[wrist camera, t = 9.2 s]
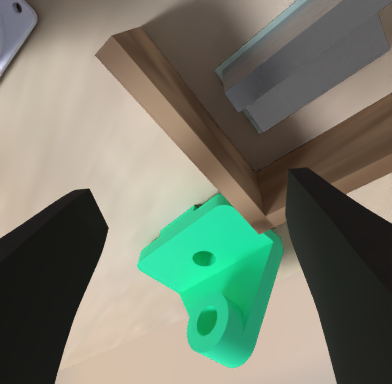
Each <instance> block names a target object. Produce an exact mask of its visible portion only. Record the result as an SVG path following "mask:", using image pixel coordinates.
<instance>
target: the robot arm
mask: <svg viewBox="0 0 392 384" xmlns="http://www.w3.org/2000/svg"><path fill="white" fill-rule="evenodd" d="M17 3H19V4H20V6H21V8H22V12H19V10H18V9H17V6H16V5H17ZM37 21H38V20H37V15H36V13H35V11H34V10H33V9H32V8H31V7H30V5H29V4H28V3H27V2H26V1H25V0H0V76H1V75H2V73H3V72H4V70H5V69H6V67H7V66H8V65H9V63H10V62H11V60H12V59H13V57H14V56H15V54H16V53H17V51H18V50H19V49H20V47H21V46H22V44H23V43H24V41H25V40H26V38H27V37H28V35H29V34H30V32H31V31H32V30H33V28H34V27H35V25H36V24H37ZM285 217H286V221H287V225H288V230H289V234H290V238H291V241H292V244H293V247H294V249H295V252H296V255H297V257H298V260H299V262H300V265H301V268H302V270H303V273H304V276H305V278H306V281H307V283H308V286H309V288H310V291H311V294H312V296H313V299H314V302H315V305H316V308H317V311H318V314H319V318H320V321H321V325H322V329H323V332H324V336H325V339H326V343H327V347H328V351H329V355H330V359H331V362H332V366H333V370H334V374H335V378H336V381H337V384H392V223H390V222H388V221H386V220H385V219H383V218H382V217H380V216H378V215H377V214H375V213H373V212H372V211H370V210H368V209H367V208H365V207H364V206H362V205H361V204H359V203H357V202H356V201H354V200H353V199H351V198H350V197H348V196H347V195H346V194H344V193H343V192H341V191H340V190H338V189H337V188H336V187H334V186H333V185H331V184H330V183H329V182H327V181H326V180H324V179H323V178H322V177H320V176H319V175H318V174H316V173H315V172H313V171H312V170H311V169H309V168H308V167H303V168H293V169H288V176H287V192H286V208H285ZM108 229H109V228H108V226H107V224H106V221H105V219H104V217H103V215H102V213H101V211H100V209H99V207H98V205H97V203H96V201H95V199H94V197H93V195H92V193H91V191H90V189H80V190H74V191H72V192H70V193H68V194H66V195H65V196H63V197H61V198H60V199H58V200H57V201H55V202H54V203H52V204H51V205H49V206H48V207H46V208H45V209H44V210H42V211H41V212H39V213H38V214H36V215H35V216H33V217H32V218H30V219H29V220H27V221H26V222H25V223H23V224H22V225H20V226H19V227H17V228H16V229H14V230H13V231H11V232H9V233H8V234H6V235H5V236H3V237H2V238H0V384H55V380H56V376H57V372H58V369H59V366H60V362H61V359H62V355H63V352H64V348H65V345H66V342H67V339H68V336H69V332H70V329H71V326H72V323H73V320H74V317H75V315H76V312H77V310H78V307H79V305H80V302H81V300H82V298H83V295H84V293H85V291H86V289H87V286H88V284H89V282H90V279H91V277H92V275H93V273H94V270H95V268H96V266H97V263H98V261H99V258H100V256H101V254H102V251H103V248H104V244H105V241H106V237H107V233H108Z"/></svg>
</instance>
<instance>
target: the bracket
mask: <svg viewBox="0 0 392 384" xmlns="http://www.w3.org/2000/svg"><path fill="white" fill-rule="evenodd" d="M391 2H392V0H306V1H305V2H304V3H303V4H302V5H300V6H299V7H298V8H297V9H296V10H294V11H293V12H292V13H291V14H290V15H288V16H287V17H286V18H285V19H284V20H282V21H281V22H280V23H279V24H278V25H276V26H275V27H274V28H273V29H271V30H270V31H269V32H268V33H267V34H265V35H264V36H263V37H262V38H261V39H259V40H258V41H257V42H256V43H255V44H253V45H252V46H251V47H250V48H249V49H247V50H246V51H245V52H244V53H243V54H241V55H240V56H239V57H238V58H237V59H235V60H234V61H233V62H232V63H231V64H229V65H228V66H227V67H226V68H224V69H223V70H222V77H223V88H224V94H225V95H226V97H227V98H228V99H229V101H230V102H231V104H232V105H233V106H234V108H235V109H236V111H237V112H238V113H239V112H240V111H242V110H243V109H244V108H246V109H247V110H248V111H249V113H250V114H251V116H252V117H253V119H254V120H255V121H256V123H257V124H258V126H259V127H260V129H261V130H262V132H263V133H264V132H265V131H267V130H268V129H270V128H271V127H273V126H274V125H276V124H277V123H279V122H280V121H282V120H284V119H285V118H287V117H288V116H290V115H291V114H293V113H294V112H296V111H297V110H299V109H300V108H302V107H303V106H305V105H306V104H308V103H310V102H311V101H313V100H314V99H316V98H317V97H319V96H320V95H322V94H323V93H325V92H326V91H328V90H329V89H331V88H332V87H334V86H336V85H337V84H339V83H340V82H342V81H343V80H345V79H346V78H348V77H349V76H351V75H352V74H354V73H355V72H357V71H359V70H360V69H362V68H363V67H365V66H366V65H368V64H369V63H371V62H372V61H374V60H375V59H377V58H378V57H380V56H381V55H383V54H385V53H386V52H388V51H389V50H390V47H389V45H388V42H387V39H386V36H385V33H384V30H383V27H382V24H381V21H380V18H379V16H378V13H377V12H379V11H380V10H381V9H383V8H384V7H385V6H387V5H388V4H390V3H391Z"/></svg>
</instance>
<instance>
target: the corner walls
mask: <svg viewBox="0 0 392 384" xmlns="http://www.w3.org/2000/svg"><path fill="white" fill-rule="evenodd" d="M95 56H96V57H97V58H98V59H99V60H100V61H101V62H102V64H103V65H104V66H105V67H106V68H107V69H108V70H109V71H110V72H111V73H112V74H113V76H114V77H115V78H116V79H117V80H118V81H119V82H120V83H121V84H122V85H123V86H124V88H125V89H126V90H127V91H128V92H129V93H130V94H131V95H132V96H133V97H134V99H135V100H136V101H137V102H138V103H139V104H140V105H141V106H142V107H143V108H144V109H145V111H146V112H147V113H148V114H149V115H150V116H151V117H152V118H153V119H154V120H155V122H156V123H157V124H158V125H159V126H160V127H161V128H162V129H163V130H164V131H165V132H166V134H167V135H168V136H169V137H170V138H171V139H172V140H173V141H174V142H175V143H176V144H177V146H178V147H179V148H180V149H181V150H182V151H183V152H184V153H185V154H186V155H187V157H188V158H189V159H190V160H191V161H192V162H193V163H194V164H195V165H196V166H197V167H198V169H199V170H200V171H201V172H202V173H203V174H204V175H205V176H206V177H207V178H208V179H209V181H210V182H211V183H212V184H213V185H214V186H215V187H216V188H217V189H218V190H219V192H220V193H221V194H222V195H223V196H224V197H225V198H226V199H227V200H228V201H229V202H230V204H231V205H232V206H233V207H234V208H235V209H236V210H237V211H238V212H239V213H240V214H241V216H242V217H243V218H244V219H245V220H246V221H247V222H248V223H249V224H250V225H251V227H252V228H253V229H254V230H255V231H256V232H257V233H258V234H259V235H260V234H262V233H264V232H266V231H268V230H270V229H272V228H274V227H277V226H279V225H281V224H283V223H285V222H287V221H286V217H285V208H286V192H287V176H288V169H293V168H303V167H308V168H309V169H311V170H312V171H313V172H315V173H316V174H318V175H319V176H320V177H322V178H323V179H324V180H326V181H327V182H329V183H330V184H331V185H333V186H334V187H336V188H337V189H338V190H340V191H341V192H343V193H344V194H347V193H349V192H351V191H353V190H355V189H357V188H360V187H362V186H364V185H366V184H368V183H370V182H372V181H374V180H377V179H379V178H381V177H383V176H385V175H387V174H389V173H391V172H392V93H391V94H389V95H388V96H386V97H384V98H383V99H381V100H379V101H377V102H376V103H374V104H372V105H371V106H369V107H367V108H366V109H364V110H362V111H360V112H359V113H357V114H355V115H354V116H352V117H350V118H348V119H347V120H345V121H343V122H342V123H340V124H338V125H337V126H335V127H333V128H331V129H330V130H328V131H326V132H325V133H323V134H321V135H320V136H318V137H316V138H314V139H313V140H311V141H309V142H308V143H306V144H304V145H303V146H301V147H299V148H297V149H296V150H294V151H292V152H291V153H289V154H287V155H286V156H284V157H282V158H280V159H279V160H277V161H275V162H274V163H272V164H270V165H269V166H267V167H265V168H263V169H262V170H260V171H258V172H257V173H255V172H254V171H253V169H252V168H251V167H250V166H249V164H248V163H247V162H246V161H245V159H244V158H243V157H242V155H241V154H240V153H239V152H238V150H237V149H236V148H235V147H234V145H233V144H232V143H231V141H230V140H229V139H228V138H227V136H226V135H225V134H224V132H223V131H222V130H221V129H220V127H219V126H218V125H217V124H216V122H215V121H214V120H213V118H212V117H211V116H210V115H209V113H208V112H207V111H206V110H205V108H204V107H203V106H202V104H201V103H200V102H199V101H198V99H197V98H196V97H195V95H194V94H193V93H192V92H191V90H190V89H189V88H188V87H187V85H186V84H185V83H184V81H183V80H182V79H181V78H180V76H179V75H178V74H177V73H176V71H175V70H174V69H173V67H172V66H171V65H170V64H169V62H168V61H167V60H166V58H165V57H164V56H163V55H162V53H161V52H160V51H159V50H158V48H157V47H156V46H155V44H154V43H153V42H152V41H151V39H150V38H149V37H148V36H147V34H146V33H145V32H144V30H143V29H142V28H141V27H138V28H134V29H131V30H128V31H125V32H122V33H118V34H115V35H112V36H111V37H110V38H109V39H108V41H107V42H106V43H105V44H104V45H103V46H102V48H101V49H100V50H99V51H98V52H97V53H96V54H95Z"/></svg>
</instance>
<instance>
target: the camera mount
mask: <svg viewBox="0 0 392 384" xmlns="http://www.w3.org/2000/svg"><path fill="white" fill-rule="evenodd" d="M283 252H284V250H283V246H282V242H281V239H280V237H279V236H278V235H277V234H275V233H274V232H273V231H272V230H271V229H270V230H268V231H266V232H264V233H262V234H260V235H259V234H258V233H257V232H256V231H255V230H254V229H253V228H252V227H251V225H250V224H249V223H248V222H247V221H246V220H245V219H244V218H243V217H242V216H241V214H240V213H239V212H238V211H237V210H236V209H235V208H234V207H233V206H232V205H231V204H230V202H229V201H228V200H227V199H226V198H225V197H224V196H223V195H222V194H221V193H220V194H217V195H215V196H214V197H213V198H211V199H210V200H209V201H207V202H206V203H204V204H203V205H202V206H200V207H199V208H197V207H196V206H195V205H194V206H192V207H191V208H190V209H188V210H187V211H186V212H184V213H183V214H182V215H180V216H179V217H178V218H176V219H175V220H174V221H173V222H171V223H170V224H169V225H167V226H166V227H165V228H163V229H162V230H161V233H160V237H159V238H158V239H156V240H155V241H153V242H152V243H151V244H149V245H148V246H147V247H145V248H144V249H143V250H142V251H141V254H140V257H139V261H138V264H137V267H138V269H139V270H140V271H142V272H143V273H145V274H147V275H148V276H150V277H152V278H153V279H155V280H157V281H159V282H160V283H162V284H164V285H165V286H167V287H169V288H170V289H172V290H174V291H175V292H177V293H179V294H180V297H181V299H182V301H183V303H184V306H185V308H186V310H187V312H188V314H189V317H190V318H189V322H188V327H187V338H188V342H189V345H190V346H191V348H192V349H193V350H194V351H196V352H198V353H200V354H202V355H204V356H206V357H208V358H210V359H212V360H214V361H216V362H218V363H220V364H222V365H224V366H226V367H229V368H236V367H239V366H241V365H242V364H244V363H245V362H246V361H247V360H248V358H249V357H250V356H251V354H252V352H253V350H254V347H255V345H256V341H257V338H258V335H259V331H260V328H261V324H262V321H263V318H264V314H265V311H266V308H267V305H268V301H269V298H270V295H271V291H272V288H273V285H274V281H275V278H276V275H277V271H278V268H279V265H280V261H281V258H282V255H283Z"/></svg>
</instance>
